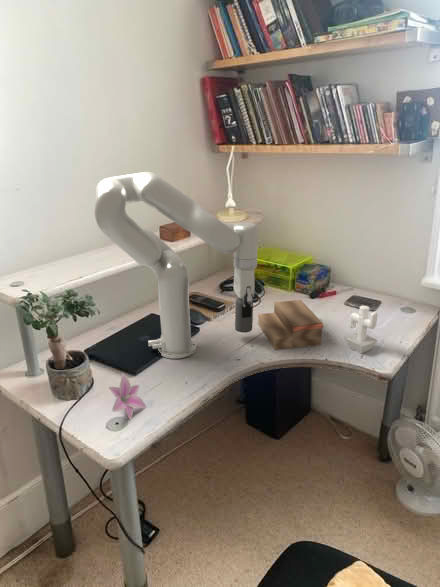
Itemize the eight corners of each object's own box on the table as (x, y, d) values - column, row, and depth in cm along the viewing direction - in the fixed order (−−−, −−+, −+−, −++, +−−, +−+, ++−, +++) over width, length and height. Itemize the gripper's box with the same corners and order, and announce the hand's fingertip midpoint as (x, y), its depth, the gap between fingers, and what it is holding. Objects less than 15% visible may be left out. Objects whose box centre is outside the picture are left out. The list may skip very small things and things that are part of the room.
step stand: (275, 351, 148) (275, 328, 145) (258, 324, 167) (258, 304, 164) (321, 345, 151) (323, 323, 148) (299, 319, 170) (300, 299, 167)
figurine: (356, 340, 154) (360, 299, 148) (379, 351, 146) (384, 308, 141) (341, 346, 150) (344, 304, 144) (364, 358, 143) (368, 314, 137)
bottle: (232, 330, 154) (232, 289, 149) (239, 324, 159) (240, 283, 153) (247, 334, 152) (249, 292, 146) (255, 327, 156) (256, 286, 151)
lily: (107, 430, 115) (120, 407, 111) (92, 397, 121) (103, 374, 117) (144, 423, 123) (157, 401, 119) (128, 393, 129) (140, 371, 125)
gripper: (228, 254, 154) (227, 304, 160) (240, 270, 138) (239, 324, 145) (249, 253, 155) (248, 302, 162) (264, 269, 139) (261, 323, 146)
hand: (244, 312), depth 153 cm, fingers closed on bottle, 5 cm apart
